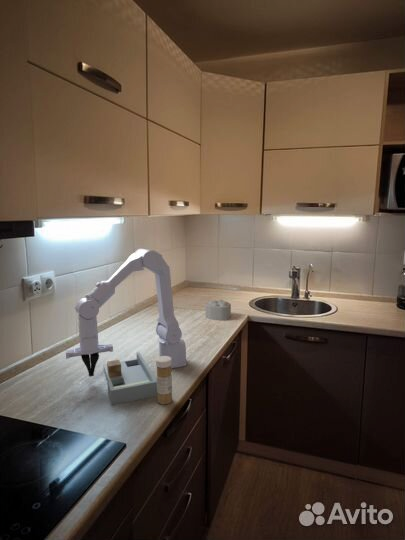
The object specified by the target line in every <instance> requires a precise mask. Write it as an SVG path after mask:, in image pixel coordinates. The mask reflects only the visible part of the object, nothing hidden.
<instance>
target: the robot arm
mask: <svg viewBox="0 0 405 540" xmlns="http://www.w3.org/2000/svg"><path fill="white" fill-rule="evenodd" d="M145 268H146V269H147V270H149V271H150V272H151V273H153V274H154V277H155V278H154V279H155V286H156V296H157V297H156V298H157V305H158V318H157V319H156V321H157V324H156V327H155V332H156V334H157V336H158V349H159V350H158V351H159V354H158V357H160V356H169V357H171V359H172V366H171V369H176V368H180V367H186V366H187V347H186V346H187V345H186V342H185V340H184V339H183V338H182V336H183V332H182V330H181V328H180V325H179V324H180V323H179V322H178V320H177V318H176V316H175V312H174V311H175V310H174V309H175V307H174V302H173V301H174V300H173V290H172V289H173V288H172V280H171V270H170V266H169V265H168V264H167V262H166V260H165V259H164V258H163V255H162V254H161V253H159V252H157V251H156V250H153V249H152V250H151V249H147V248H144V247H141V248H140V247H139V248H137V250H135V252H133V253H132V254H131V255H130V256H128V257H127V259H126V261H124V262H123V263H122V265H120V267H119V268H118V269H117V270H116V271H115V272H114V273H113V274H112V275H111V276H110V278H108V280H101V281H100V282H96V283H95V287H94V288H93V289H92V290H91V291H90V292H89V293H86V294H85V295H84V298H83V297H82V298H80V299H79V300H78V301H77V302H76V306H75V307H74V309H75V311H76V312H77V314H78V316H77V317H78V336H79V347H76V348H73V349H69V350H65V359H67V360H68V359H70V358H77V357H81V360H82V362H83V363H84V365H85V367H86V369H87V372H88V376H89V377H94V375H95V374H94V373H95V369H96V365H97V363H98V361H99V359H100V354H101V353H106V352H107V353H108V352H110V353H112V352H114V345H113V344H112V343H110V344H109V343H108V344H99V331H98V319H97V317H98V314H99V311H100V308H101V307H102V306H104V304H106V302H108V301H109V300H110V299H111V297H113V296H114V294H116V288H117V287H118V286H120V284H121V283H122V282H124V280H126V278H128V277H129V276H130V275H131V274H132V273H134V272H139V271H145Z"/></svg>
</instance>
